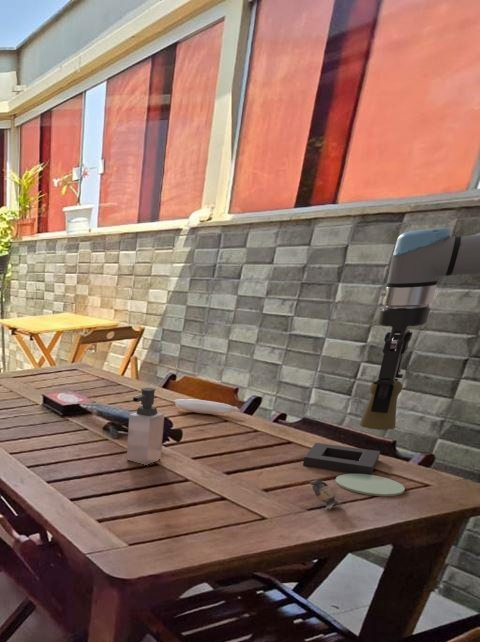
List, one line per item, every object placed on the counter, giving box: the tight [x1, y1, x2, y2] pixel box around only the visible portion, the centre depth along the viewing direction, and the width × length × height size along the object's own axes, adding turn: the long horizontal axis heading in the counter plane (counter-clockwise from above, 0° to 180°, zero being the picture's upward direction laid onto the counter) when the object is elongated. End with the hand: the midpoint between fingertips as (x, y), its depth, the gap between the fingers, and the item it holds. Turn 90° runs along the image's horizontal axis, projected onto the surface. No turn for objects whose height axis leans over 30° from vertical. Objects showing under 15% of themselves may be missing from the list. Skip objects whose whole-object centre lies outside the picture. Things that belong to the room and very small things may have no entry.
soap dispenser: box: [126, 387, 165, 466], centre depth 143 cm, size 6×9×22 cm
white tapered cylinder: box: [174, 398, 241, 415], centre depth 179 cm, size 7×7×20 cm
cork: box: [359, 379, 403, 431], centre depth 114 cm, size 6×6×11 cm
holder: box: [302, 442, 381, 475], centre depth 131 cm, size 13×13×2 cm
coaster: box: [334, 473, 406, 497], centre depth 118 cm, size 12×12×1 cm
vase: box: [309, 478, 344, 512], centre depth 112 cm, size 5×5×6 cm
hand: (381, 408), depth 114 cm, fingers closed on cork, 5 cm apart
